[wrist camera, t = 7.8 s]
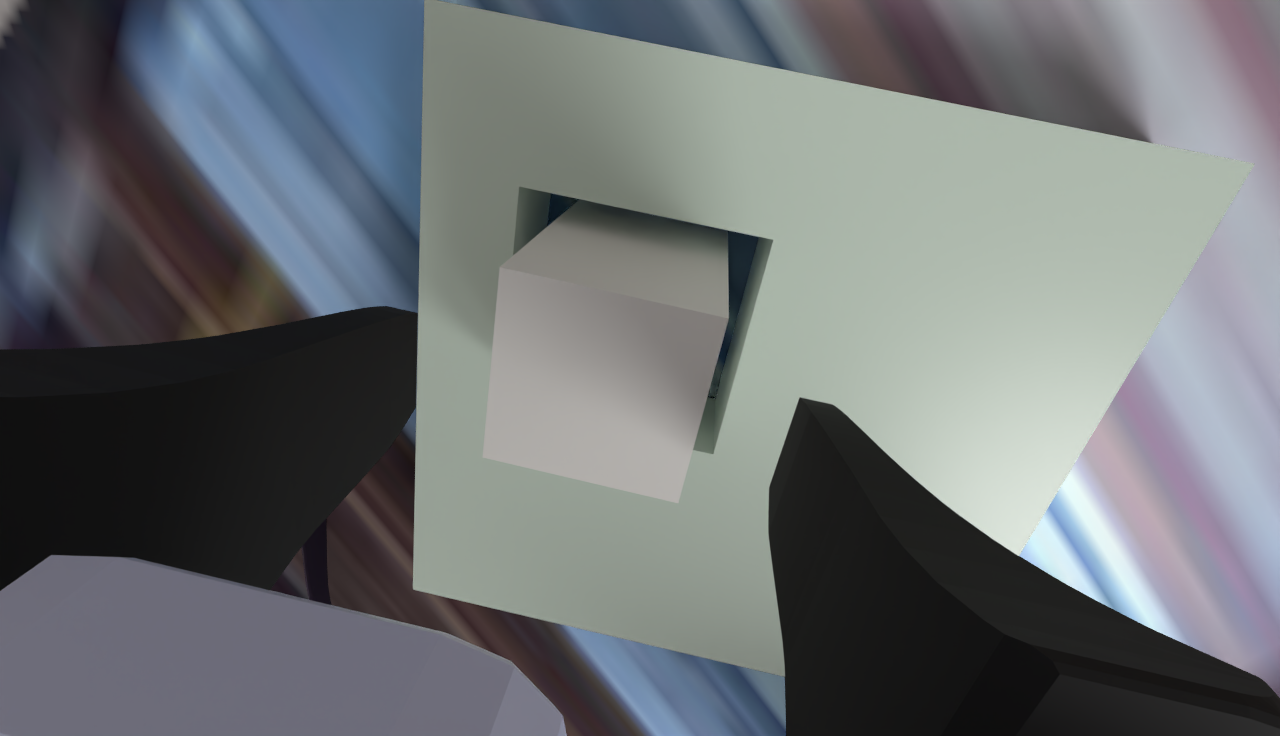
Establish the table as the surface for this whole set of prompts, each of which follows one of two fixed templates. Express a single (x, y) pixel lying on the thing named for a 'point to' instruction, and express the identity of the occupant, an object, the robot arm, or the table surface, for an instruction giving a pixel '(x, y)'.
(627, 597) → the pale green square slab
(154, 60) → the table surface
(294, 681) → the robot arm
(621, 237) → the block
